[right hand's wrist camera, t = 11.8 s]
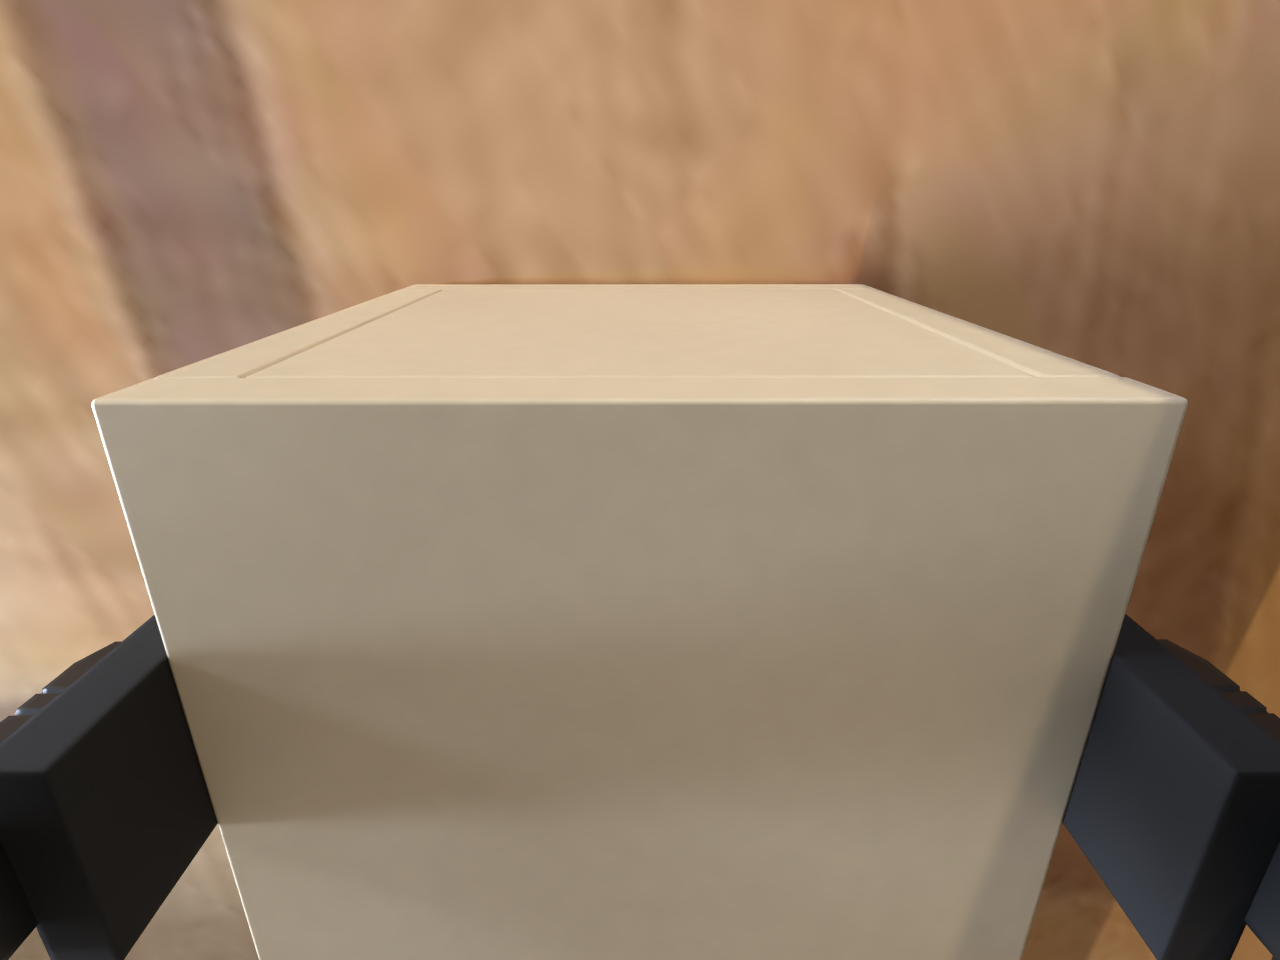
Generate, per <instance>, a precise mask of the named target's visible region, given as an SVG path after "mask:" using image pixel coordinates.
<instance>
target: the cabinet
mask: <svg viewBox="0 0 1280 960" xmlns="http://www.w3.org/2000/svg"><path fill="white" fill-rule="evenodd" d="M1187 407H1188V400H1187V399H1186V398H1183V397H1181V396H1178V395H1175V394H1173V393H1170V392H1167V391H1164V390H1161V389H1158V388H1156V387H1153V386H1150V385H1147V384H1144V383H1141V382H1139V381H1136V380H1133V379H1130V378H1127V377H1120V376H1118V375H1116V374H1114V373H1111V372H1108V371H1105V370H1102V369H1100V368H1097V367H1094V366H1091V365H1088V364H1085V363H1083V362H1080V361H1077V360H1074V359H1071V358H1069V357H1066V356H1063V355H1060V354H1057V353H1055V352H1052V351H1049V350H1046V349H1043V348H1040V347H1038V346H1035V345H1032V344H1029V343H1026V342H1024V341H1021V340H1018V339H1015V338H1012V337H1010V336H1007V335H1004V334H1001V333H998V332H995V331H993V330H990V329H987V328H984V327H981V326H979V325H976V324H973V323H970V322H967V321H965V320H962V319H959V318H956V317H953V316H950V315H948V314H945V313H942V312H939V311H936V310H934V309H931V308H928V307H925V306H922V305H920V304H917V303H914V302H911V301H908V300H905V299H903V298H900V297H897V296H894V295H891V294H889V293H886V292H883V291H880V290H877V289H875V288H872V287H869V286H867V285H864V284H448V285H412V286H410V287H407V288H404V289H400V290H397V291H395V292H392V293H389V294H386V295H383V296H381V297H378V298H375V299H372V300H369V301H367V302H364V303H361V304H358V305H356V306H353V307H350V308H347V309H344V310H342V311H339V312H336V313H333V314H330V315H328V316H325V317H322V318H319V319H316V320H314V321H311V322H308V323H305V324H302V325H300V326H297V327H294V328H291V329H288V330H286V331H283V332H280V333H277V334H274V335H272V336H269V337H266V338H263V339H260V340H258V341H255V342H252V343H249V344H247V345H244V346H241V347H238V348H235V349H233V350H230V351H227V352H224V353H221V354H219V355H216V356H213V357H210V358H207V359H205V360H202V361H199V362H196V363H193V364H191V365H188V366H185V367H182V368H179V369H177V370H174V371H171V372H168V373H165V374H163V375H160V376H158V377H156V378H152V379H149V380H147V381H144V382H141V383H138V384H135V385H133V386H130V387H127V388H124V389H121V390H119V391H116V392H113V393H110V394H108V395H105V396H102V397H99V398H97V399H95V400H93V401H92V409H93V412H94V416H95V419H96V422H97V426H98V429H99V432H100V435H101V439H102V442H103V445H104V449H105V452H106V455H107V459H108V462H109V465H110V469H111V472H112V475H113V478H114V482H115V485H116V488H117V492H118V495H119V498H120V502H121V505H122V508H123V511H124V515H125V518H126V521H127V525H128V528H129V531H130V535H131V538H132V541H133V544H134V548H135V551H136V554H137V558H138V561H139V564H140V568H141V571H142V574H143V578H144V581H145V584H146V587H147V591H148V594H149V597H150V601H151V604H152V607H153V611H154V614H155V617H156V620H157V624H158V627H159V630H160V634H161V637H162V640H163V644H164V647H165V650H166V654H167V657H168V660H169V663H170V667H171V670H172V673H173V677H174V680H175V683H176V687H177V690H178V693H179V696H180V700H181V703H182V706H183V710H184V713H185V716H186V720H187V723H188V726H189V729H190V733H191V736H192V739H193V743H194V746H195V749H196V753H197V756H198V759H199V763H200V766H201V769H202V772H203V776H204V779H205V782H206V786H207V789H208V792H209V796H210V799H211V802H212V805H213V809H214V812H215V815H216V819H217V822H218V825H219V829H220V832H221V835H222V839H223V842H224V845H225V848H226V852H227V855H228V858H229V862H230V865H231V868H232V872H233V875H234V878H235V881H236V885H237V888H238V891H239V895H240V898H241V901H242V905H243V908H244V911H245V914H246V918H247V921H248V924H249V928H250V931H251V934H252V938H253V941H254V944H255V948H256V951H257V954H258V957H259V960H1021V958H1022V954H1023V951H1024V948H1025V944H1026V941H1027V938H1028V934H1029V931H1030V928H1031V924H1032V921H1033V918H1034V914H1035V911H1036V908H1037V904H1038V901H1039V898H1040V894H1041V891H1042V888H1043V885H1044V881H1045V878H1046V875H1047V871H1048V868H1049V865H1050V861H1051V858H1052V855H1053V851H1054V848H1055V845H1056V841H1057V838H1058V835H1059V831H1060V828H1061V825H1062V822H1063V818H1064V815H1065V812H1066V808H1067V805H1068V802H1069V798H1070V795H1071V792H1072V788H1073V785H1074V782H1075V778H1076V775H1077V772H1078V768H1079V765H1080V762H1081V758H1082V755H1083V752H1084V749H1085V745H1086V742H1087V739H1088V735H1089V732H1090V729H1091V725H1092V722H1093V719H1094V715H1095V712H1096V709H1097V705H1098V702H1099V699H1100V695H1101V692H1102V689H1103V685H1104V682H1105V679H1106V676H1107V672H1108V669H1109V666H1110V662H1111V659H1112V656H1113V652H1114V649H1115V646H1116V642H1117V639H1118V636H1119V632H1120V629H1121V626H1122V622H1123V619H1124V616H1125V613H1126V609H1127V606H1128V603H1129V599H1130V596H1131V593H1132V589H1133V586H1134V583H1135V579H1136V576H1137V573H1138V569H1139V566H1140V563H1141V559H1142V556H1143V553H1144V549H1145V546H1146V543H1147V540H1148V536H1149V533H1150V530H1151V526H1152V523H1153V520H1154V516H1155V513H1156V510H1157V506H1158V503H1159V500H1160V496H1161V493H1162V490H1163V486H1164V483H1165V480H1166V476H1167V473H1168V470H1169V467H1170V463H1171V460H1172V457H1173V453H1174V450H1175V447H1176V443H1177V440H1178V437H1179V433H1180V430H1181V427H1182V423H1183V420H1184V417H1185V413H1186V410H1187Z"/></svg>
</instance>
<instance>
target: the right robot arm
mask: <svg viewBox="0 0 1280 960" xmlns="http://www.w3.org/2000/svg"><path fill="white" fill-rule="evenodd" d="M1239 687H1240V686H1238V685H1237V684H1236V683H1235V682H1233V681H1232V680H1231V679H1230V678H1228V677H1227V676H1226V675H1225V674H1223V673H1222V672H1221V671H1220V670H1218V669H1217V668H1216V667H1214V666H1213V665H1212V664H1211V663H1209V662H1208V661H1207V660H1205V659H1203V658H1201V657H1199V656H1197V655H1195V654H1193V653H1191V652H1189V651H1187V650H1186V649H1184V648H1182V647H1180V646H1178V645H1176V644H1174V643H1172V642H1170V641H1168V640H1156V639H1155V638H1154V637H1152V636H1151V635H1150V634H1149V633H1148V632H1146V631H1145V630H1144V629H1143V628H1142V627H1140V626H1139V625H1138V624H1137V623H1136V622H1134V621H1133V620H1132V619H1131V618H1130V617H1128V616H1127V615H1126V614H1125V616H1124V619H1123V622H1122V626H1121V629H1120V632H1119V636H1118V639H1117V642H1116V646H1115V649H1114V652H1113V656H1112V659H1111V662H1110V666H1109V669H1108V672H1107V676H1106V679H1105V682H1104V685H1103V689H1102V692H1101V695H1100V699H1099V702H1098V705H1097V709H1096V712H1095V715H1094V719H1093V722H1092V725H1091V729H1090V732H1089V735H1088V739H1087V742H1086V745H1085V749H1084V752H1083V755H1082V758H1081V762H1080V765H1079V768H1078V772H1077V775H1076V778H1075V782H1074V785H1073V788H1072V792H1071V795H1070V798H1069V802H1068V805H1067V808H1066V812H1065V815H1064V818H1063V824H1064V825H1065V827H1066V828H1067V829H1068V831H1069V832H1070V834H1071V835H1072V837H1073V838H1074V840H1075V841H1076V843H1077V844H1078V845H1079V847H1080V848H1081V850H1082V851H1083V853H1084V854H1085V856H1086V857H1087V859H1088V860H1089V861H1090V863H1091V864H1092V866H1093V867H1094V869H1095V870H1096V872H1097V873H1098V875H1099V876H1100V877H1101V879H1102V880H1103V882H1104V883H1105V885H1106V886H1107V888H1108V889H1109V890H1110V892H1111V893H1112V895H1113V896H1114V898H1115V899H1116V901H1117V902H1118V904H1119V905H1120V906H1121V908H1122V909H1123V911H1124V912H1125V914H1126V915H1127V917H1128V918H1129V920H1130V921H1131V922H1132V924H1133V925H1134V927H1135V928H1136V930H1137V931H1138V933H1139V934H1140V936H1141V937H1142V938H1143V940H1144V941H1145V943H1146V944H1147V946H1148V947H1149V949H1150V950H1151V951H1152V953H1153V954H1154V956H1155V957H1156V959H1157V960H1230V959H1231V957H1232V955H1233V953H1234V950H1235V948H1236V946H1237V944H1238V942H1239V939H1240V937H1241V935H1242V933H1243V931H1244V928H1245V926H1246V924H1247V926H1248V927H1249V928H1250V929H1251V930H1252V931H1253V933H1254V934H1255V935H1256V936H1257V937H1258V939H1259V940H1260V941H1261V942H1262V943H1263V944H1264V946H1265V947H1266V948H1267V949H1268V950H1269V952H1270V953H1271V954H1272V955H1273V957H1272V959H1271V960H1280V718H1279V717H1277V716H1276V715H1275V714H1274V713H1267V711H1266V707H1265V706H1263V705H1262V704H1261V703H1260V702H1258V701H1257V700H1256V699H1255V698H1253V697H1252V696H1251V695H1250V694H1248V693H1247V692H1241V691H1240V689H1239ZM217 823H218V822H217V819H216V815H215V812H214V809H213V805H212V802H211V799H210V796H209V792H208V789H207V786H206V782H205V779H204V776H203V772H202V769H201V766H200V763H199V759H198V756H197V753H196V749H195V746H194V743H193V739H192V736H191V733H190V729H189V726H188V723H187V720H186V716H185V713H184V710H183V706H182V703H181V700H180V696H179V693H178V690H177V687H176V683H175V680H174V677H173V673H172V670H171V667H170V663H169V660H168V657H167V654H166V650H165V647H164V644H163V640H162V637H161V634H160V630H159V627H158V624H157V620H156V617H155V615H154V616H152V617H151V618H150V619H149V620H148V621H146V622H145V623H144V624H143V625H142V626H140V627H139V628H138V629H137V630H136V631H134V632H133V633H132V634H131V635H130V636H128V637H127V638H126V639H125V640H124V641H122V642H114V643H112V644H110V645H108V646H106V647H104V648H103V649H101V650H99V651H97V652H95V653H93V654H91V655H89V656H87V657H85V658H84V659H82V660H80V661H78V662H76V663H74V664H73V665H72V666H70V667H69V668H68V669H67V670H65V671H64V672H63V673H62V674H60V675H59V676H58V677H57V678H55V679H54V680H53V681H52V682H50V683H49V684H48V685H47V686H45V687H44V688H43V691H42V694H35V695H34V696H33V697H32V698H30V699H29V700H28V701H27V702H25V703H24V704H23V705H22V706H20V707H19V708H18V709H17V710H16V714H15V715H14V716H8V717H7V718H6V719H4V720H3V721H2V722H1V723H0V960H9V958H10V957H11V956H12V954H13V953H14V952H15V951H16V950H17V948H18V947H19V946H20V945H21V944H22V942H23V941H24V940H25V939H26V938H27V937H28V935H29V934H30V933H31V932H32V931H33V929H34V928H35V927H36V928H37V930H38V932H39V934H40V937H41V939H42V941H43V943H44V945H45V948H46V950H47V952H48V954H49V956H50V959H51V960H124V958H125V957H126V956H127V954H128V953H129V951H130V950H131V948H132V947H133V945H134V944H135V942H136V941H137V940H138V938H139V937H140V935H141V934H142V932H143V931H144V929H145V928H146V926H147V925H148V924H149V922H150V921H151V919H152V918H153V916H154V915H155V913H156V912H157V911H158V909H159V908H160V906H161V905H162V903H163V902H164V900H165V899H166V897H167V896H168V895H169V893H170V892H171V890H172V889H173V887H174V886H175V884H176V883H177V881H178V880H179V879H180V877H181V876H182V874H183V873H184V871H185V870H186V868H187V867H188V865H189V864H190V863H191V861H192V860H193V858H194V857H195V855H196V854H197V852H198V851H199V849H200V848H201V847H202V845H203V844H204V842H205V841H206V839H207V838H208V836H209V835H210V833H211V832H212V831H213V829H214V828H215V826H216V825H217Z"/></svg>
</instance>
